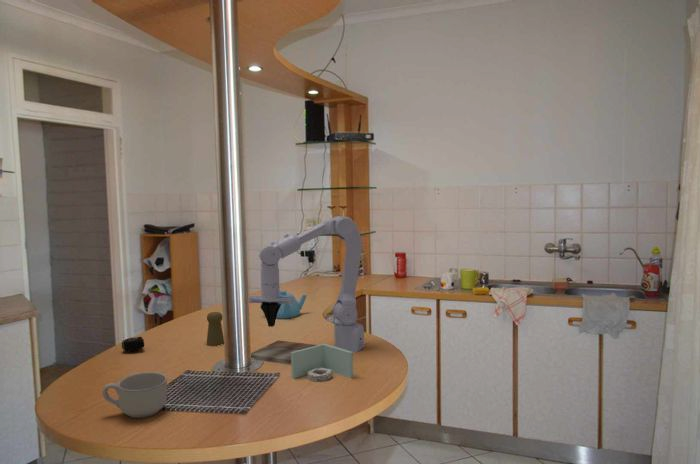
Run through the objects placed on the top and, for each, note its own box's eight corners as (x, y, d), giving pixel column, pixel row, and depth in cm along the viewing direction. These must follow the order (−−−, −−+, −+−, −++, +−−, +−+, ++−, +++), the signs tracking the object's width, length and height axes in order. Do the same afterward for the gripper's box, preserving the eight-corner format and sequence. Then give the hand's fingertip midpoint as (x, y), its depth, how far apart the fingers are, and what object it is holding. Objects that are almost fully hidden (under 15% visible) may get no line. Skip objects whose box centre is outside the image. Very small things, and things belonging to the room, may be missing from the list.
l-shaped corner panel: (291, 379, 142) (291, 352, 141) (324, 368, 150) (324, 343, 150) (319, 390, 133) (319, 361, 133) (353, 378, 141) (352, 351, 141)
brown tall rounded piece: (226, 341, 180) (226, 310, 180) (220, 346, 174) (219, 314, 174) (210, 341, 181) (209, 310, 180) (203, 346, 175) (202, 314, 174)
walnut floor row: (325, 350, 168) (325, 345, 168) (315, 356, 162) (315, 351, 162) (278, 344, 175) (278, 340, 175) (267, 350, 169) (267, 345, 169)
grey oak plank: (314, 356, 162) (314, 351, 162) (298, 366, 153) (298, 361, 152) (266, 350, 169) (266, 345, 169) (248, 359, 160) (248, 354, 160)
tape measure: (145, 349, 169) (143, 338, 168) (122, 354, 166) (121, 343, 166) (144, 345, 175) (143, 334, 175) (122, 350, 172) (121, 339, 172)
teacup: (174, 403, 126) (173, 371, 125) (159, 422, 115) (157, 387, 114) (116, 404, 125) (115, 372, 125) (96, 424, 114) (94, 388, 114)
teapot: (279, 310, 230) (278, 286, 230) (308, 313, 224) (307, 289, 223) (258, 318, 217) (257, 292, 216) (288, 321, 210) (287, 295, 209)
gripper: (296, 282, 165) (297, 323, 166) (255, 281, 169) (256, 321, 170) (287, 285, 158) (289, 329, 159) (245, 284, 162) (246, 327, 163)
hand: (271, 325), depth 164 cm, fingers closed
